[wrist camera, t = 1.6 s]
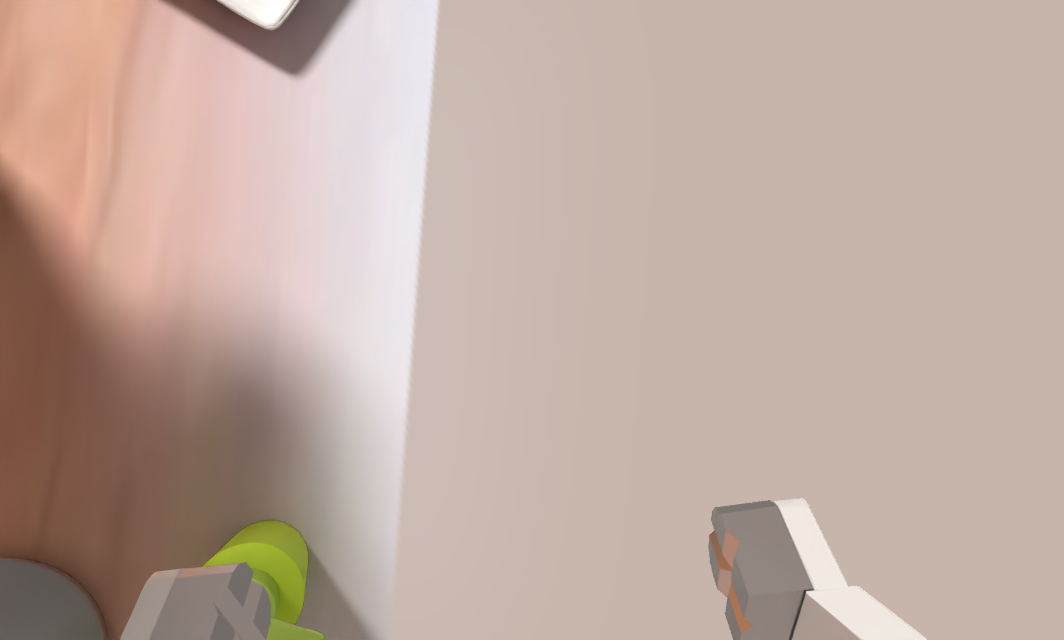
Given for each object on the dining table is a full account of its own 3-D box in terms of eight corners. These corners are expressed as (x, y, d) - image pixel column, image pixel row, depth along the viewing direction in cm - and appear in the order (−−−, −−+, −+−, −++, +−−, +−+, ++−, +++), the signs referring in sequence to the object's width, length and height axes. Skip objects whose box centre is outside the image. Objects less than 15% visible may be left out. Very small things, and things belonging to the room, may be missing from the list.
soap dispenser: (300, 621, 46) (287, 731, 28) (205, 590, 45) (124, 686, 26) (335, 540, 48) (344, 593, 30) (244, 508, 47) (195, 543, 28)
